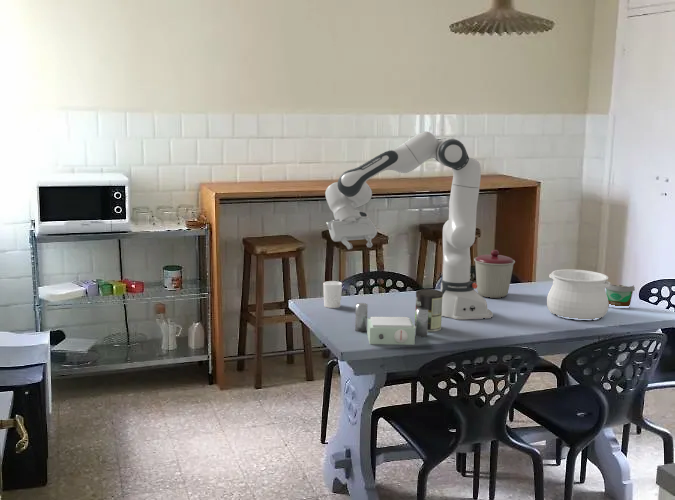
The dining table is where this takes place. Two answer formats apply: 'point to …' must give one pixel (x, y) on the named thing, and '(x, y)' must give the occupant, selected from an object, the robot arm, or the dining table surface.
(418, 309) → the spacer
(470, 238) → the robot arm
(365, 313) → the cylinder
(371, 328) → the scale
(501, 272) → the canister
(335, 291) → the white cup
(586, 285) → the pot
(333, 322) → the dining table surface
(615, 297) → the food container
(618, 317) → the dining table surface
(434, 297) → the coffee can
